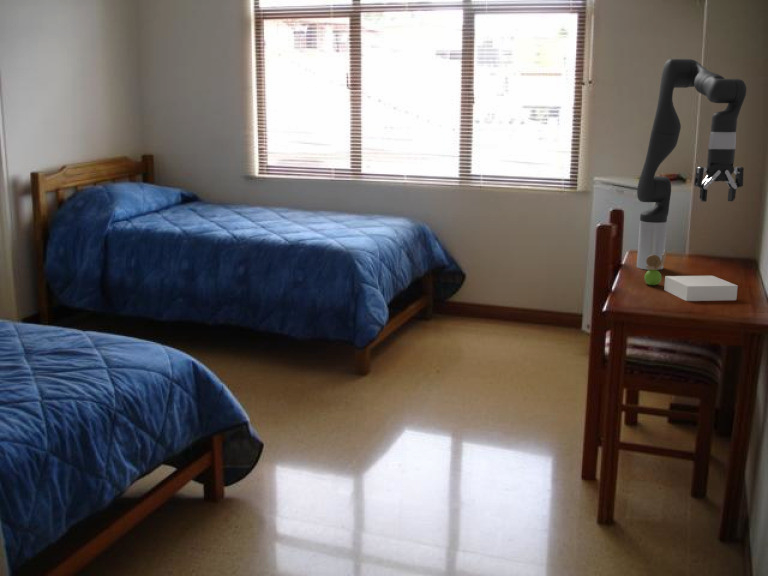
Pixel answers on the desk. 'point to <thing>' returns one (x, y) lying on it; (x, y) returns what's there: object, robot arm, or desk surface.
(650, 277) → the snail figurine
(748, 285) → the desk surface
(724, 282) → the cream block
